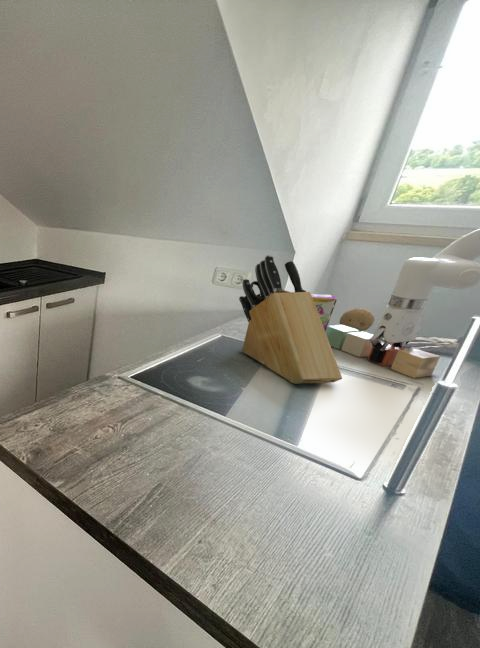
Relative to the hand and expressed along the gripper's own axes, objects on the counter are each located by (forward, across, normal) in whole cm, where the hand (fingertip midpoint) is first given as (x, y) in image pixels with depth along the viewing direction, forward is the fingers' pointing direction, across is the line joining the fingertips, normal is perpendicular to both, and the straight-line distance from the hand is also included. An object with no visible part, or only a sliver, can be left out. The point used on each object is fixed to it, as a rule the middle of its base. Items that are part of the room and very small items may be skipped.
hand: (383, 360), depth 118 cm
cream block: (+1, 0, +8) cm, 8 cm away
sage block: (+1, 0, +14) cm, 14 cm away
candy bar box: (+1, -9, +20) cm, 22 cm away
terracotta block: (+1, 0, 0) cm, 1 cm away
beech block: (+1, 0, -8) cm, 8 cm away
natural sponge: (+1, +13, +21) cm, 25 cm away
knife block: (+1, -31, +7) cm, 32 cm away
